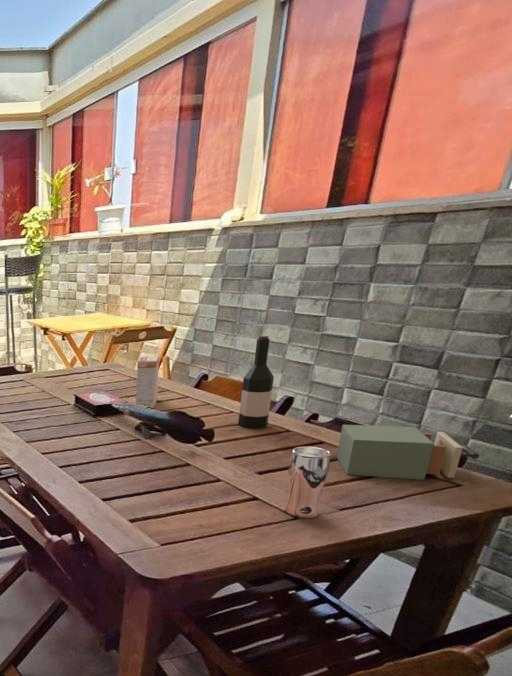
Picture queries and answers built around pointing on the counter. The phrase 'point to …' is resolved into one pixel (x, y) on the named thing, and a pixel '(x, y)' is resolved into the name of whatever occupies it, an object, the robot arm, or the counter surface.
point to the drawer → (447, 455)
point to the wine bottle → (257, 389)
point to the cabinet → (384, 451)
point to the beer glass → (306, 480)
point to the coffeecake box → (147, 379)
